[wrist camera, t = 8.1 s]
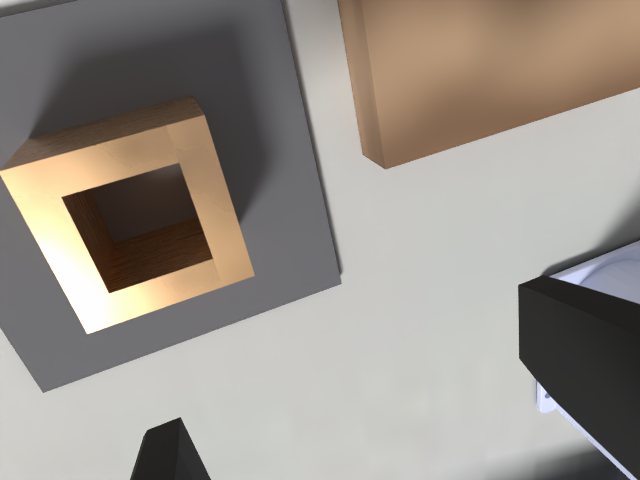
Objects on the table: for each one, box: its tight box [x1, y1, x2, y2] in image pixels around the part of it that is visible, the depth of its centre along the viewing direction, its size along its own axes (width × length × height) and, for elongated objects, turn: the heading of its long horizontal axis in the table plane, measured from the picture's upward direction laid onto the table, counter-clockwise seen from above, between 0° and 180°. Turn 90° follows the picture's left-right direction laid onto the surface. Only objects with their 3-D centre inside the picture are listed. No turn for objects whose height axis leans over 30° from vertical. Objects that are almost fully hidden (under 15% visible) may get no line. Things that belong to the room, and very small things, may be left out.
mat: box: [0, 0, 342, 393], centre depth 17 cm, size 12×12×1 cm
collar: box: [0, 95, 255, 334], centre depth 15 cm, size 5×5×4 cm
